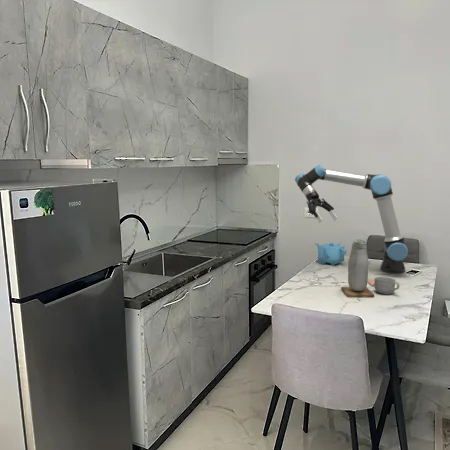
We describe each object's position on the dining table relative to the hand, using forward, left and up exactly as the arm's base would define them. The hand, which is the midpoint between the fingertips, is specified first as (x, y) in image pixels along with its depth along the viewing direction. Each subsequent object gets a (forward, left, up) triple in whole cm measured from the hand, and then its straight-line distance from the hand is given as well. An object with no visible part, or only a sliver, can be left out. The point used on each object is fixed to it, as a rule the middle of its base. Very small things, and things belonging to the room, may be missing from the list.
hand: (328, 220), depth 252 cm
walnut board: (-10, +33, -36) cm, 50 cm away
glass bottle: (-10, +33, -34) cm, 49 cm away
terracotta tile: (-28, +14, -36) cm, 47 cm away
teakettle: (-9, -37, -36) cm, 52 cm away
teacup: (-26, +32, -36) cm, 55 cm away
